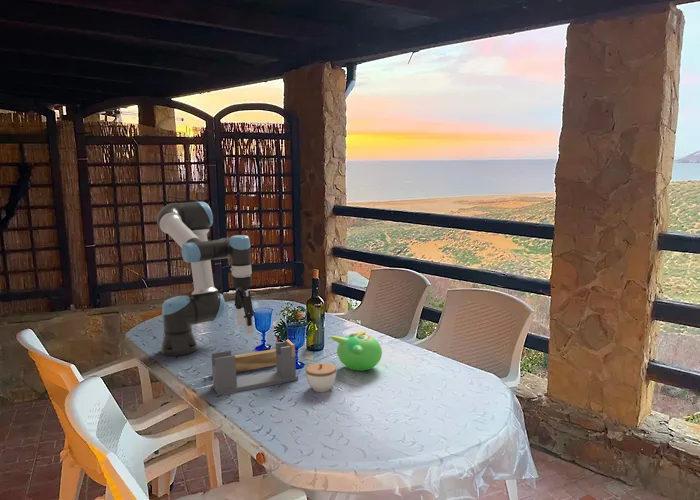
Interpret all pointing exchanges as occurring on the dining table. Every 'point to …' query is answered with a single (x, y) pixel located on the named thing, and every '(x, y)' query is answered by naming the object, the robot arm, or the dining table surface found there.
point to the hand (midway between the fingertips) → (245, 329)
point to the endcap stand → (229, 383)
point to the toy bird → (358, 351)
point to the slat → (255, 360)
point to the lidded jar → (321, 376)
